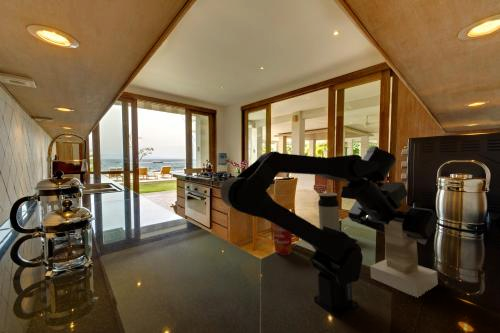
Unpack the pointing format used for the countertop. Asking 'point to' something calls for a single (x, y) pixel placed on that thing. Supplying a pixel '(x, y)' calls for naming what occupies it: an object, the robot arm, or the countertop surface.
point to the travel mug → (328, 211)
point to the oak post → (400, 249)
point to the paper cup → (282, 240)
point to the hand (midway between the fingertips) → (403, 237)
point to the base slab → (405, 278)
